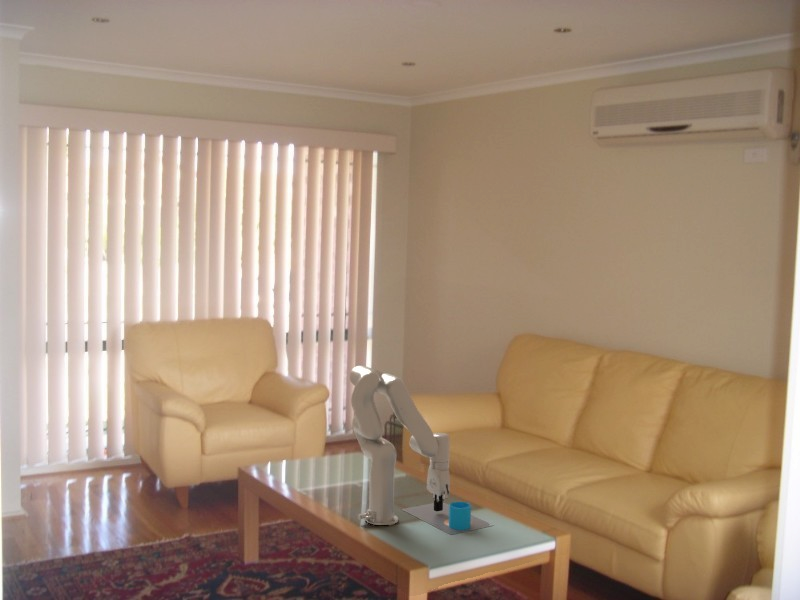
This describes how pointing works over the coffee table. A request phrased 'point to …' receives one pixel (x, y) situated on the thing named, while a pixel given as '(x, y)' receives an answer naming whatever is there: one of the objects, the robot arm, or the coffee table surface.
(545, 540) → the coffee table surface
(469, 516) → the mug
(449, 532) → the mat
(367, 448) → the robot arm
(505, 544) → the coffee table surface
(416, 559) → the coffee table surface
